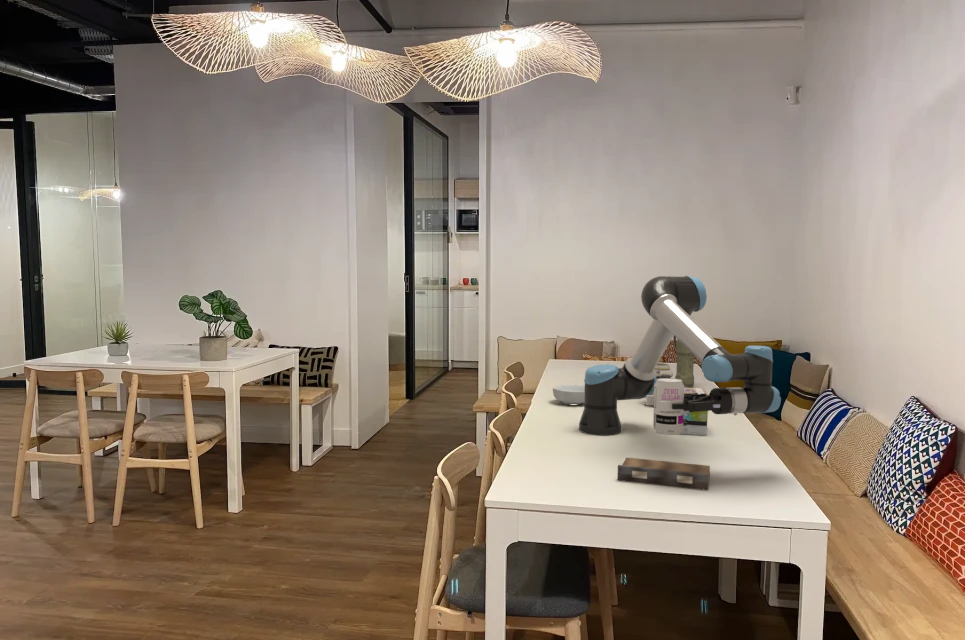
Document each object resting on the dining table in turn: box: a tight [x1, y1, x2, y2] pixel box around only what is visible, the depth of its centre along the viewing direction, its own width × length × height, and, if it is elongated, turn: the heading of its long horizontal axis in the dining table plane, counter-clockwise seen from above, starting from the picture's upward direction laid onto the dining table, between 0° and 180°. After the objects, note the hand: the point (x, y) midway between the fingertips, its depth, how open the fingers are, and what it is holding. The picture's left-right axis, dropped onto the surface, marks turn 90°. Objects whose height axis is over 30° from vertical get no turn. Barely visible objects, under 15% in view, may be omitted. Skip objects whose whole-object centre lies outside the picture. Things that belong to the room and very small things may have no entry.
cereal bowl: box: [552, 383, 585, 405], centre depth 304 cm, size 17×17×7 cm
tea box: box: [681, 387, 709, 436], centre depth 257 cm, size 15×10×15 cm
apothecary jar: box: [646, 362, 674, 408], centre depth 302 cm, size 12×12×18 cm
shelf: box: [617, 457, 711, 491], centre depth 201 cm, size 24×17×4 cm
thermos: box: [673, 336, 695, 388], centre depth 343 cm, size 9×12×35 cm
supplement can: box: [652, 377, 684, 436], centre depth 200 cm, size 8×8×15 cm
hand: (653, 403), depth 199 cm, fingers closed on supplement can, 8 cm apart
